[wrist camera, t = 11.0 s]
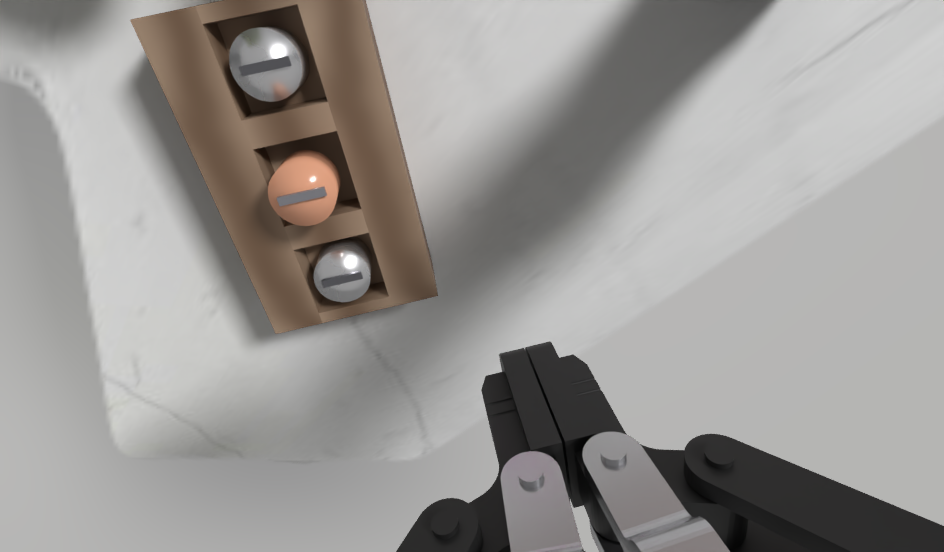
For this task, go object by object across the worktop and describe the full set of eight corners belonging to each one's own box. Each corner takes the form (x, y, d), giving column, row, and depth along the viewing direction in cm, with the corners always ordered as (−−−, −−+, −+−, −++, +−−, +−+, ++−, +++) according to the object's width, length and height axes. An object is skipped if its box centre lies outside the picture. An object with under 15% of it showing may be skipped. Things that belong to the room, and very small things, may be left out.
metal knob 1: (296, 20, 34) (286, 20, 31) (317, 86, 36) (310, 94, 33) (233, 33, 34) (215, 36, 31) (258, 99, 36) (244, 108, 33)
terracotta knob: (329, 144, 36) (323, 157, 32) (348, 200, 38) (344, 219, 34) (269, 157, 36) (256, 172, 32) (291, 213, 38) (281, 233, 34)
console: (359, -22, 36) (354, -28, 31) (432, 264, 48) (437, 295, 43) (168, 18, 36) (130, 19, 31) (288, 298, 47) (276, 334, 42)
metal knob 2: (363, 230, 42) (361, 249, 39) (377, 274, 44) (376, 296, 41) (311, 241, 42) (305, 262, 38) (328, 286, 44) (323, 309, 41)
